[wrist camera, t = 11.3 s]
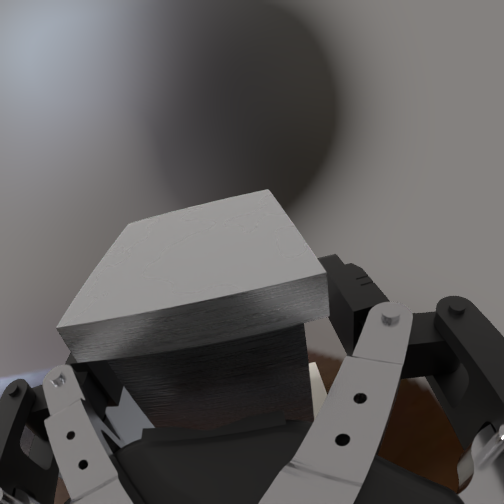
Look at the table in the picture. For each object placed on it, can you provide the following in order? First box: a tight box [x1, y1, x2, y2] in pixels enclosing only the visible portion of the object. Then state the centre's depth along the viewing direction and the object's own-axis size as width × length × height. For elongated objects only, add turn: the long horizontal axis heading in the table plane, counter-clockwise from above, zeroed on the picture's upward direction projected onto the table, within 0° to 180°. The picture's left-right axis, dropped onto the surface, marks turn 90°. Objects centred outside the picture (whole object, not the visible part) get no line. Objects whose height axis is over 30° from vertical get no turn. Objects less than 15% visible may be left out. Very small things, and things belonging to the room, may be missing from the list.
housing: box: [56, 189, 330, 430], centre depth 10 cm, size 6×6×11 cm
